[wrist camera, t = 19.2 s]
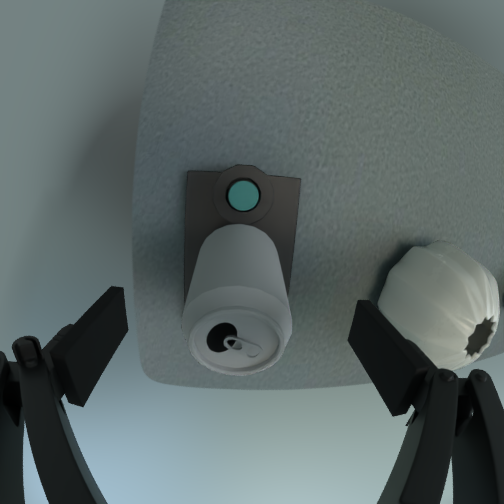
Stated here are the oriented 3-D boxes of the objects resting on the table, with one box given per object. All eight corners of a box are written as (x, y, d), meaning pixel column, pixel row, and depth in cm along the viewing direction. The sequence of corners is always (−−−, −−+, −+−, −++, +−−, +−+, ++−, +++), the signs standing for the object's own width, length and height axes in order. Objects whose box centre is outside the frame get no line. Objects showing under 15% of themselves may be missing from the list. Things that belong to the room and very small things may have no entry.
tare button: (229, 179, 25) (229, 179, 24) (258, 181, 25) (259, 182, 24) (228, 207, 26) (227, 209, 24) (256, 209, 26) (257, 211, 24)
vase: (434, 331, 33) (488, 382, 20) (355, 336, 32) (403, 408, 19) (460, 239, 30) (533, 269, 17) (379, 227, 29) (459, 262, 16)
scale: (188, 163, 26) (184, 162, 24) (300, 171, 27) (305, 170, 25) (185, 318, 30) (182, 328, 28) (283, 323, 31) (286, 333, 29)
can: (214, 208, 25) (193, 286, 14) (290, 236, 27) (318, 323, 16) (191, 274, 28) (167, 367, 18) (259, 296, 30) (266, 391, 19)
